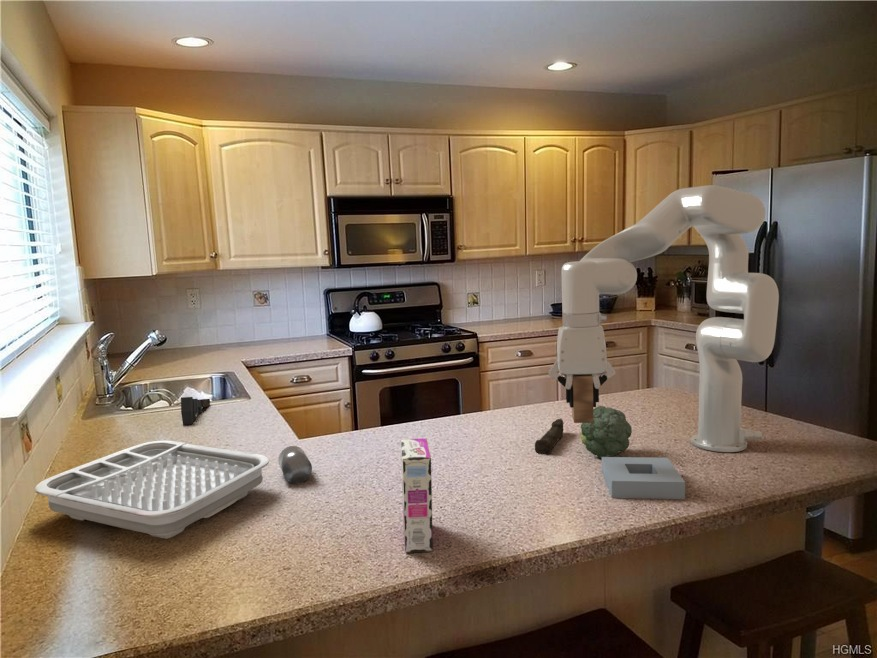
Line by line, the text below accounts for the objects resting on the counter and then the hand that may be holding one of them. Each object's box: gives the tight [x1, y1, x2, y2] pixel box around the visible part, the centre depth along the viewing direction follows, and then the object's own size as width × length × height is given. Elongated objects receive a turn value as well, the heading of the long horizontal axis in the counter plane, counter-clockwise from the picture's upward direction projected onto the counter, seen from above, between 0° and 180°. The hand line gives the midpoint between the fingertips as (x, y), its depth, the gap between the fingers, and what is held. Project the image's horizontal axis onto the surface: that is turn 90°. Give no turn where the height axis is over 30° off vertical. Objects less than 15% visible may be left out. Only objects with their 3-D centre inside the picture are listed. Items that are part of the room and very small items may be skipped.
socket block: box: [601, 456, 686, 500], centre depth 127 cm, size 14×14×4 cm
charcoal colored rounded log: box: [534, 418, 564, 456], centre depth 156 cm, size 19×4×5 cm, turn 152°
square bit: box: [571, 375, 594, 424], centre depth 130 cm, size 4×4×10 cm
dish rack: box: [34, 439, 270, 539], centre depth 124 cm, size 32×37×8 cm
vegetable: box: [579, 405, 633, 459], centre depth 148 cm, size 12×13×15 cm
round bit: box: [277, 445, 313, 485], centre depth 138 cm, size 6×6×8 cm
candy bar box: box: [400, 438, 434, 554], centre depth 106 cm, size 11×5×16 cm, turn 5°
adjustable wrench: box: [180, 396, 211, 426], centre depth 194 cm, size 8×3×25 cm
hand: (582, 404), depth 130 cm, fingers closed on square bit, 4 cm apart
